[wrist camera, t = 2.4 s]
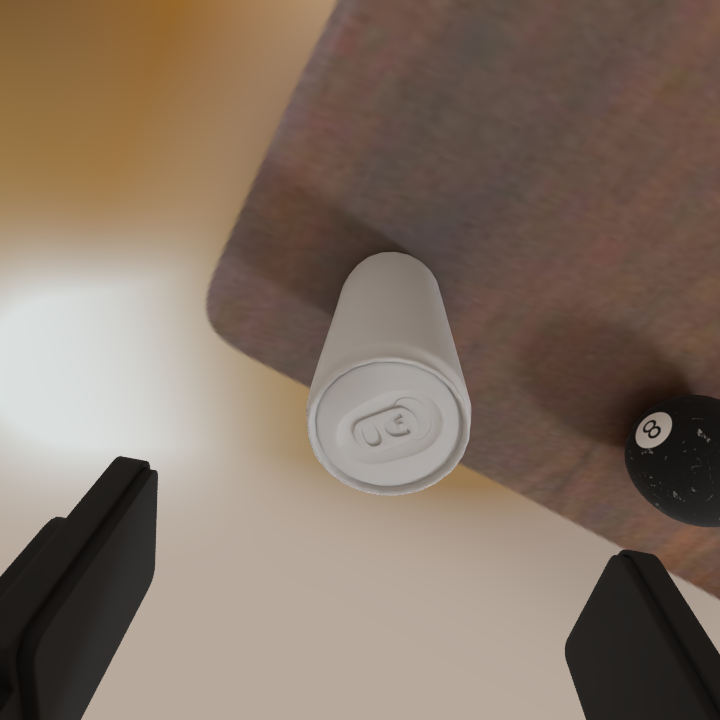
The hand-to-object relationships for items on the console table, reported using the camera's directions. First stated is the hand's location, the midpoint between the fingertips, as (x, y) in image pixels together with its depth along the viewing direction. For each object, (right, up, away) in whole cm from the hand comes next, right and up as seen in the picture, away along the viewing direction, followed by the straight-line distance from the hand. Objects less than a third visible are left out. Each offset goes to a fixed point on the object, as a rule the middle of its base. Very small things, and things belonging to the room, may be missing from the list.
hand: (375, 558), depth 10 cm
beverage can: (+1, +7, +15) cm, 17 cm away
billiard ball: (+16, +1, +17) cm, 23 cm away
